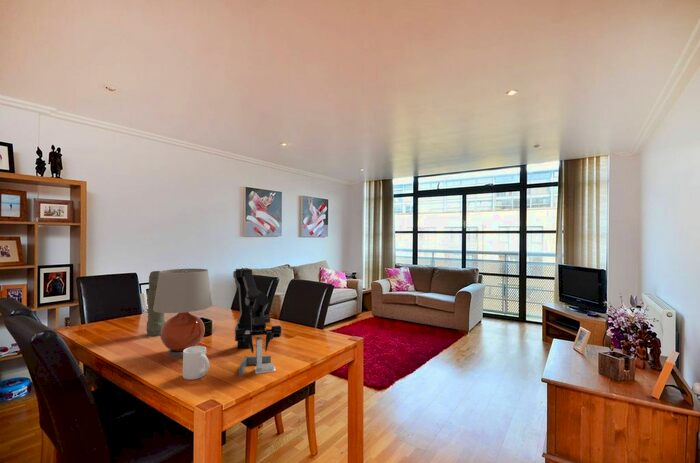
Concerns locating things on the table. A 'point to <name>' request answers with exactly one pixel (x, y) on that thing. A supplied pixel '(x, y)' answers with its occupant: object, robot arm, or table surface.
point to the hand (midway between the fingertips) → (259, 352)
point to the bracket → (259, 365)
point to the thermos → (154, 318)
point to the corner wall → (252, 362)
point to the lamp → (182, 307)
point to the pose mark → (265, 371)
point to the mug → (195, 362)
